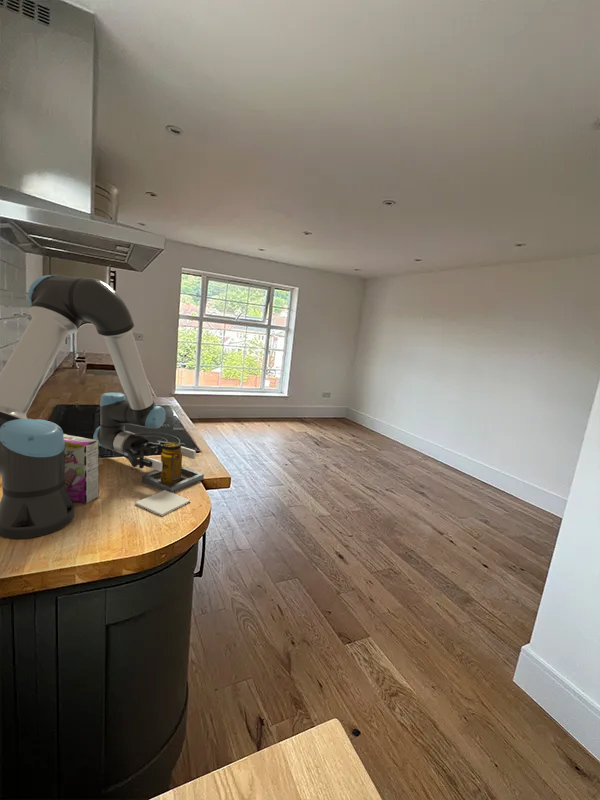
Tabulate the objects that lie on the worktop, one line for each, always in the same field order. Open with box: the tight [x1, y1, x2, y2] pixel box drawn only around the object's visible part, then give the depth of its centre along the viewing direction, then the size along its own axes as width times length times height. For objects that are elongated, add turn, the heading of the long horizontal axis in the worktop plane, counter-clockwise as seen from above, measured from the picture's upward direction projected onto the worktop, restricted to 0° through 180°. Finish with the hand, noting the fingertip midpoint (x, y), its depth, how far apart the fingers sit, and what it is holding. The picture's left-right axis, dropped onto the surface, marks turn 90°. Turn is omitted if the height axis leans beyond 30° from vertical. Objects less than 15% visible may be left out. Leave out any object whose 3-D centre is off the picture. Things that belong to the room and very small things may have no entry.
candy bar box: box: [63, 433, 100, 505], centre depth 98 cm, size 11×5×16 cm, turn 79°
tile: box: [134, 490, 192, 517], centre depth 101 cm, size 10×10×1 cm
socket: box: [141, 466, 205, 493], centre depth 115 cm, size 13×12×2 cm
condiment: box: [158, 441, 189, 485], centre depth 114 cm, size 7×8×12 cm
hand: (179, 460), depth 114 cm, fingers open, 13 cm apart
